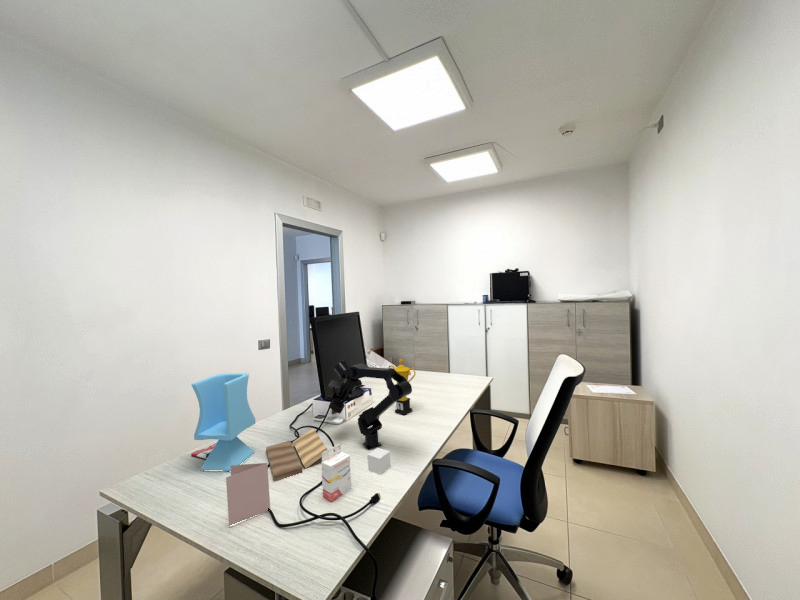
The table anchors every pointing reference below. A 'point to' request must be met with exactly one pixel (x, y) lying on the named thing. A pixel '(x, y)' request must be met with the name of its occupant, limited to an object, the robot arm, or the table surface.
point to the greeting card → (247, 491)
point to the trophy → (404, 402)
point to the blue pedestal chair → (224, 418)
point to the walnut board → (283, 460)
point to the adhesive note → (379, 460)
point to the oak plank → (309, 447)
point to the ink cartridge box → (335, 473)
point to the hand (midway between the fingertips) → (336, 407)
